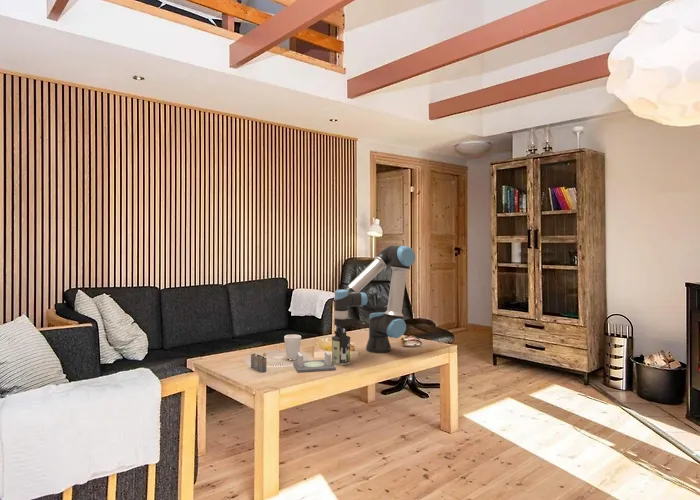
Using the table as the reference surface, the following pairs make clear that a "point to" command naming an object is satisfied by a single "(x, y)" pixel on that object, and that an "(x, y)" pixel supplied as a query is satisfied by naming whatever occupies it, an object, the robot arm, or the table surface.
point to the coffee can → (337, 351)
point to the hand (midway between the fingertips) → (340, 356)
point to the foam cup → (292, 346)
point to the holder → (314, 364)
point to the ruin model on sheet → (258, 362)
